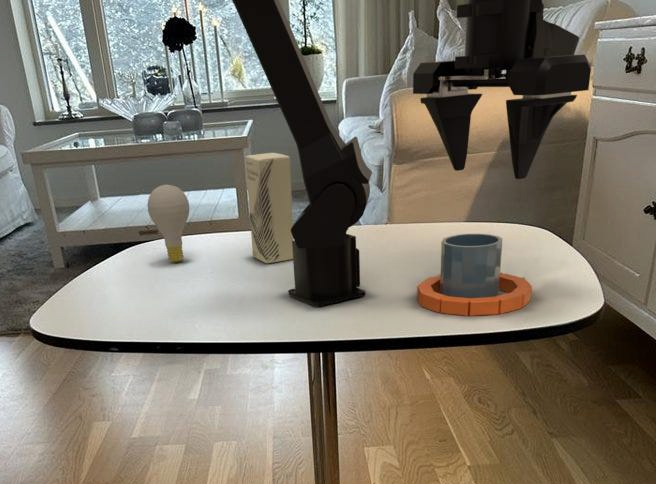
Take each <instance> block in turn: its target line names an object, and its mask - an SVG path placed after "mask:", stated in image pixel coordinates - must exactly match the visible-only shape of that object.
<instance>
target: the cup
mask: <svg viewBox="0 0 656 484" xmlns="http://www.w3.org/2000/svg"><path fill="white" fill-rule="evenodd" d="M440 247H441V249H440V275H441V276H440V292H439V293H440V294H443V295H446V296H450V297H461V298H484V297H495V296H499V293H500V290H499V281H500V273H501V264H502V251H503V238H502V237H501V236H498V235H494V234H489V233H488V234H486V233H461V234H454V235H449V236H447V237H444V238H443V239H442V240H441V246H440Z"/></svg>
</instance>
